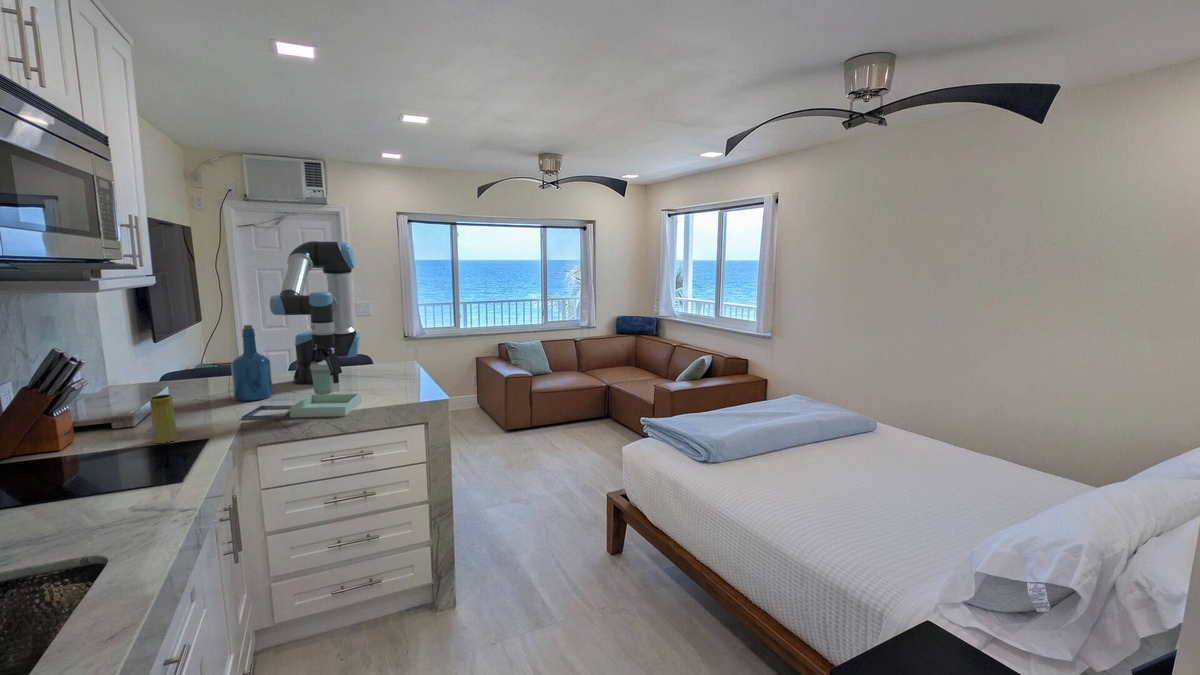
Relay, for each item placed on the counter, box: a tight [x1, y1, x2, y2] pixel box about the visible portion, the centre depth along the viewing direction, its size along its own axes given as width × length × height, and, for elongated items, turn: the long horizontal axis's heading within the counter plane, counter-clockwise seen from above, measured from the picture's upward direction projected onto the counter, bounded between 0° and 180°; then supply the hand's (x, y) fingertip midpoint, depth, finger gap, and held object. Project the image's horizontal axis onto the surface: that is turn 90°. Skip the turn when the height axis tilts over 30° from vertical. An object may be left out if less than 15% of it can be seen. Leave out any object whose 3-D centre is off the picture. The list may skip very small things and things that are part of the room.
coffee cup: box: [310, 360, 332, 395], centre depth 197 cm, size 8×9×12 cm
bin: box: [289, 392, 362, 418], centre depth 197 cm, size 19×19×4 cm
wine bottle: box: [230, 324, 274, 402], centre depth 208 cm, size 14×13×30 cm
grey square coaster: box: [241, 404, 294, 421], centre depth 191 cm, size 14×14×1 cm
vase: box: [149, 394, 179, 444], centre depth 160 cm, size 6×6×14 cm
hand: (326, 388), depth 196 cm, fingers open, 13 cm apart
